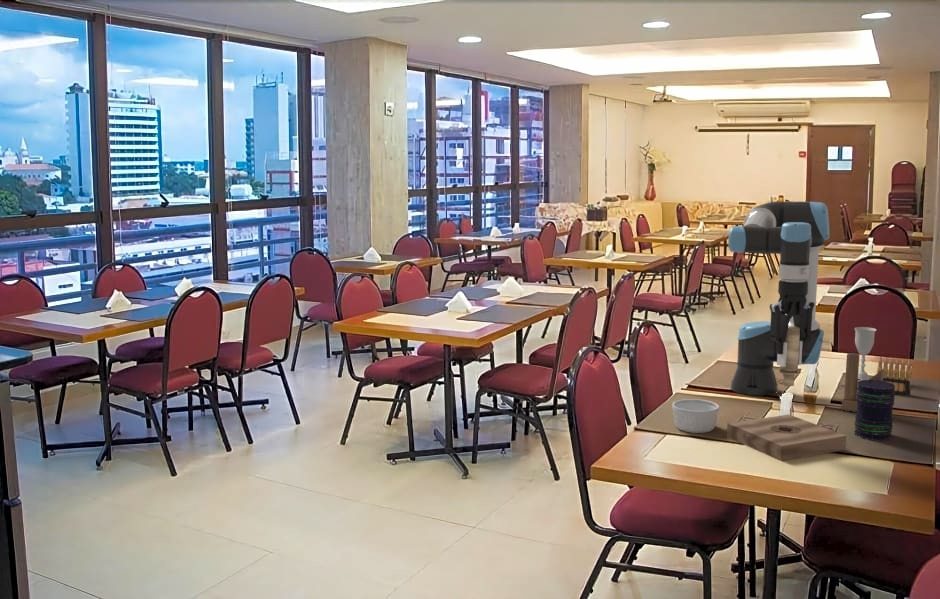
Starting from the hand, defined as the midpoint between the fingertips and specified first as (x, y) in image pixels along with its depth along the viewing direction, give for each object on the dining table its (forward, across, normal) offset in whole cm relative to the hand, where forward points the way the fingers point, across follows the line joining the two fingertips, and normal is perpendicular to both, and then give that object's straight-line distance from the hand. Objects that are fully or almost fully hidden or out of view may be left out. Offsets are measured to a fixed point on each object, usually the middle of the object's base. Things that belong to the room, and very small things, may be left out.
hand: (789, 364), depth 246 cm
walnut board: (+22, 0, 0) cm, 22 cm away
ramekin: (+23, -14, +22) cm, 35 cm away
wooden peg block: (+22, +43, +15) cm, 51 cm away
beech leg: (+6, 0, 0) cm, 6 cm away
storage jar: (+22, +28, -4) cm, 36 cm away
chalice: (+22, +76, +47) cm, 92 cm away
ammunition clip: (+22, +70, +28) cm, 79 cm away
